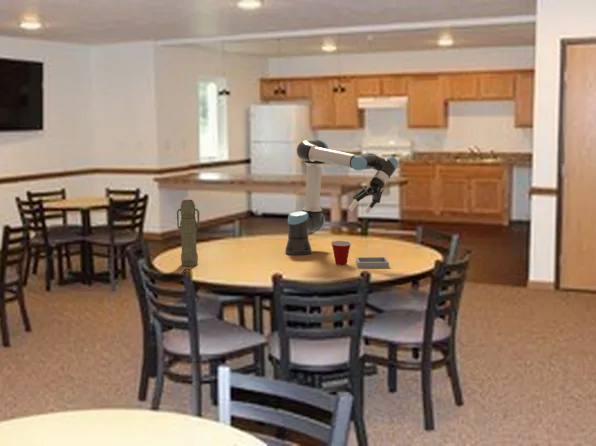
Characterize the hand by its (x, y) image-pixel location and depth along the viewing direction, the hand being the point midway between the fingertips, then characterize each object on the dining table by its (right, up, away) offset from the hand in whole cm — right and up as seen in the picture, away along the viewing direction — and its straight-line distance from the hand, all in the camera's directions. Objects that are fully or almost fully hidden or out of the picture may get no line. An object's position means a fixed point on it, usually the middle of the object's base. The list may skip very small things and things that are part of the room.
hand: (358, 210), depth 428 cm
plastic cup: (-9, -29, -3) cm, 30 cm away
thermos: (-90, -29, 0) cm, 95 cm away
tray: (+7, -29, -6) cm, 30 cm away
